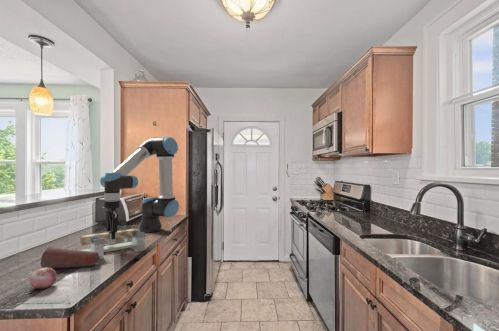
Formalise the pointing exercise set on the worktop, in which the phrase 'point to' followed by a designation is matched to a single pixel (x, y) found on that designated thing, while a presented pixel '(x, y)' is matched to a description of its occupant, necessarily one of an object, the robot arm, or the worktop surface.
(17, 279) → the worktop surface
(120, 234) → the rail
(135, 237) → the post
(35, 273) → the onion
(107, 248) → the mat
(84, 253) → the food
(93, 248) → the post
